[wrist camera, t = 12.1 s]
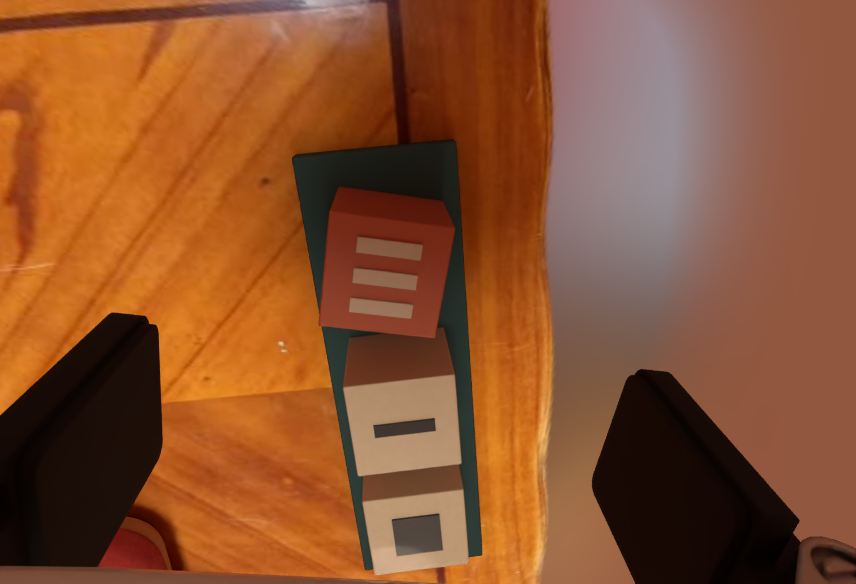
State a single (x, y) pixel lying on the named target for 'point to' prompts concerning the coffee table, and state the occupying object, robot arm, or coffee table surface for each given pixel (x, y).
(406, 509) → the block
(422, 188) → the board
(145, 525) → the toy boat
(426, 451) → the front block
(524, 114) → the coffee table surface
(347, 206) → the red striped block
